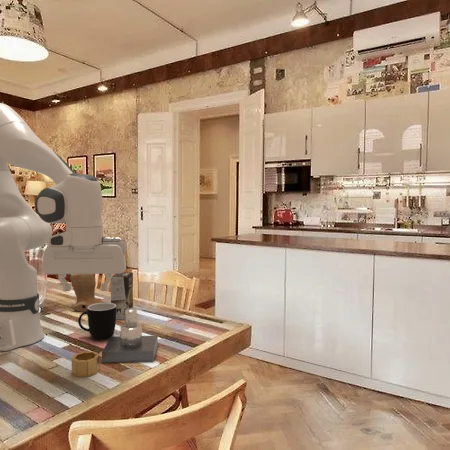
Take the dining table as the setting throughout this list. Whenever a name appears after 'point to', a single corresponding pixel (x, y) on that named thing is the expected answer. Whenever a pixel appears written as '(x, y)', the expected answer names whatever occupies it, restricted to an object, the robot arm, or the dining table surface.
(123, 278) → the coffee box
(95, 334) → the mug
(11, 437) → the dining table surface
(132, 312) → the grey plate with knob
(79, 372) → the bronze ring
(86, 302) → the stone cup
